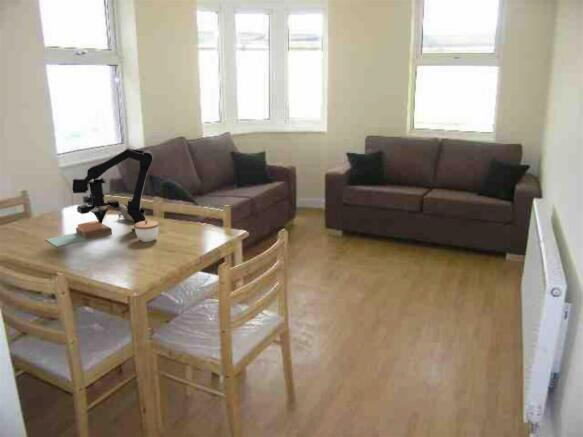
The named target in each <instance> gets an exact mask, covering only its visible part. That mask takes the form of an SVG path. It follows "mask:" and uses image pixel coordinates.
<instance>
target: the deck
mask: <svg viewBox="0 0 583 437" xmlns="http://www.w3.org/2000/svg"><path fill="white" fill-rule="evenodd" d="M101 225H102V228H100V229H96V230H91V231H86V232H82V231H80V230H78V226H77V227H75V230H76V232H75V233H77V234H78V235H80V236H82V237H84V238H85V239H87V240H86V241H89V240H93V239H97V238H102V237H106V236H110V235H113V231H112V228H111V227H110V226H108V225H106V224H104V223H102V224H101Z"/></svg>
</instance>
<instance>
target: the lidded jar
mask: <svg viewBox="0 0 583 437" xmlns="http://www.w3.org/2000/svg"><path fill="white" fill-rule="evenodd" d="M134 227H135V231H134V232H135V235H136V237H137V238H138V240H141V242H142V243H143V242H144V243H145V242H146V243H148V242H153V241H155V239H156V238H157V236H158V234H159V229H160V228H159V222H158V221H157V220H147V219H146V220H145V221H141V222H138V223H136V224H135V225H134V224H133V228H134Z"/></svg>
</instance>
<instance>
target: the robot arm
mask: <svg viewBox="0 0 583 437" xmlns="http://www.w3.org/2000/svg"><path fill="white" fill-rule="evenodd" d="M154 157H155V155H154V153H153V152H152V151H151V150H139V149H135V148H130V147H127V148H126V149H125V150H123V151H122V152H120V153H118V154H115V155H114V156H113V157H111V158H109V159H107V160H106V161H103V162H99V163H96V164H94V165H92V166H90V167H89V168H88V169H87V172H86V176H85V178H73V179H72V188H71V189H72V193H73V194H86V193H88V192H90V194H89V197H88V195H87V196H82V200H83V204H82V205H78V206H77V207H76V211H77V212H78V213H79V214H81V215H84V214H89V213H91V214H92V213H93V215H94V216H95V218H96V221H98V222H100V223H101V224H103V221H104V218H105V216H106V214H107V212H108V211H109V208H108V207H112V208H113V209H116V208H121V207H120V205H119V204H120V202H119V201H118V200H116V199H109V200H106V202H105V194H104V186H103V184H106V182H107V180H106V178H104V177H101V176H103V175H104V174H105V173H106V172H107V171H108V170H110V169H112V168H113V167H115V166H117V165H118V164H120V163H122V162H123V161H125V160H128V159H132V160H135V161H138V162H139V172H138V175H137V176H138V177H137V179H136V184H135V188H134V193H133V197H132V198H130V197H129V199H128V201H127V206H126V207H127V208H126V209H128V210H127V213H128V214H129V215H130V216H131V217H132V219H133V220H132V221H133V228H131V231H133V232H135V227H134V225H135V224H136V223H138V222H141V221H145V220H147V219H146V214H147V211H146V210H145V209H144V208H142V198H143V192H144V189H145V185H146V184H145V183H146V180H147V176H148V171H149V169H150V166H151V165H152V163H153V161H154ZM100 177H101V178H100ZM98 178H100V179H98Z"/></svg>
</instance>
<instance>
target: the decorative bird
mask: <svg viewBox="0 0 583 437" xmlns="http://www.w3.org/2000/svg"><path fill="white" fill-rule="evenodd" d="M119 205H120V207H119V208H120V209H119V210H120V213H118V218H124V219H125V220H127V221H133V219H132V217H131V216H130V215H129V214H128V213H127V210H128V209H126V208H127V206H126V205H124V204H123V203H119ZM121 215H122V216H121Z"/></svg>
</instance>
